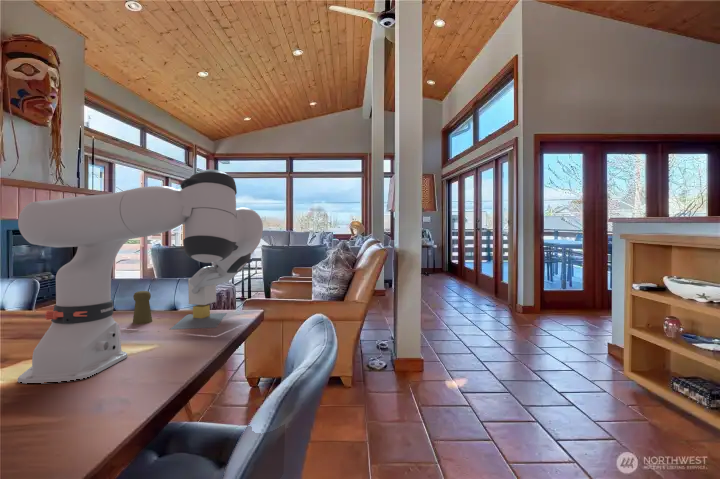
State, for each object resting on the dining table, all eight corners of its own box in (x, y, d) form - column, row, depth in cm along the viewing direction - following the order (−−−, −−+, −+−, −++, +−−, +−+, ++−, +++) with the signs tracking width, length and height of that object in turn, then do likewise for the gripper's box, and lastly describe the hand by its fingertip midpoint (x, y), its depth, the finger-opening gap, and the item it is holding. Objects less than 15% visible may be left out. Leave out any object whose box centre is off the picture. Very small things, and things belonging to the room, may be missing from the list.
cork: (133, 322, 137) (132, 290, 137) (153, 320, 140) (152, 289, 139) (131, 326, 132) (131, 293, 131) (152, 324, 134) (151, 291, 134)
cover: (216, 301, 146) (215, 276, 146) (204, 304, 140) (204, 279, 140) (200, 300, 148) (200, 276, 148) (188, 303, 142) (188, 278, 141)
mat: (215, 329, 128) (215, 327, 128) (169, 330, 126) (169, 329, 126) (226, 314, 150) (226, 313, 150) (187, 315, 147) (187, 314, 147)
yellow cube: (209, 315, 145) (209, 305, 145) (202, 318, 141) (202, 307, 141) (200, 315, 146) (200, 304, 146) (193, 317, 142) (192, 306, 142)
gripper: (212, 274, 130) (186, 302, 133) (246, 268, 150) (223, 292, 153) (200, 260, 131) (175, 288, 134) (235, 255, 151) (213, 280, 154)
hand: (201, 290), depth 144 cm, fingers closed on cover, 7 cm apart
